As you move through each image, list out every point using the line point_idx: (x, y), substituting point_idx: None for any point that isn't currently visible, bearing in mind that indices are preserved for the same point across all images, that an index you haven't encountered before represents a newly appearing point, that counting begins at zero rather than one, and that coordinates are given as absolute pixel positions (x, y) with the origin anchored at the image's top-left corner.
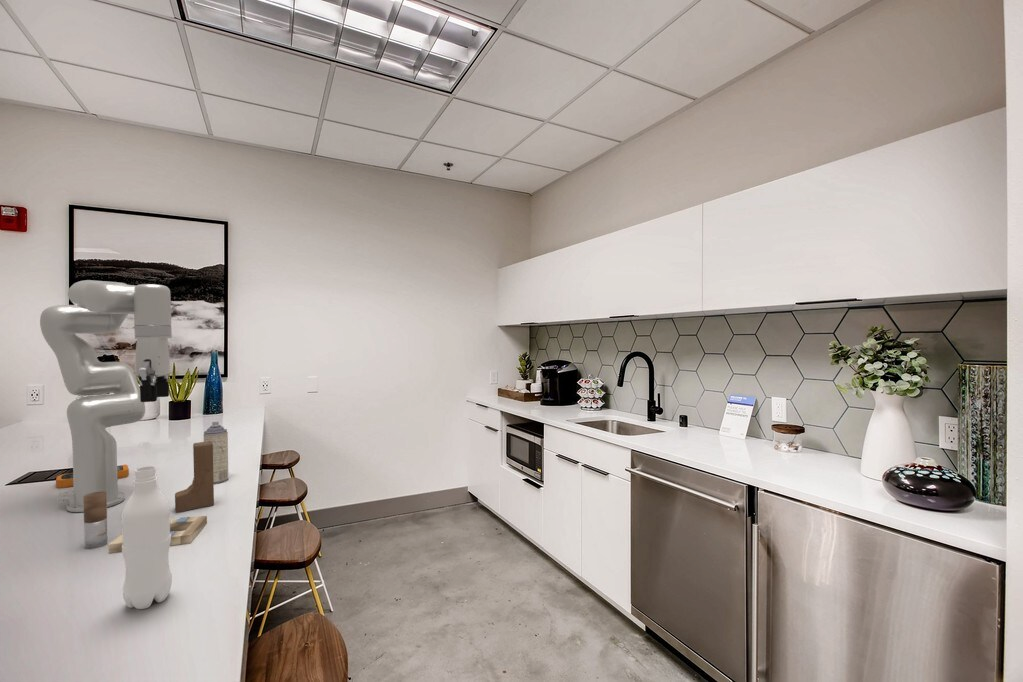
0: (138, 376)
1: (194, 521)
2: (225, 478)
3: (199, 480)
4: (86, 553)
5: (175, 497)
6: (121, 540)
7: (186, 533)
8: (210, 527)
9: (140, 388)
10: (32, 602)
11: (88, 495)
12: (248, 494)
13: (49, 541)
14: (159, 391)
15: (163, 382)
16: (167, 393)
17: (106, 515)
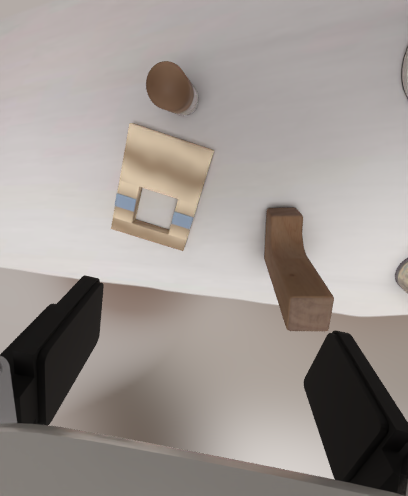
0: (42, 444)
1: (166, 235)
2: (401, 287)
3: (273, 262)
4: None
5: (273, 215)
6: (138, 140)
7: (119, 224)
8: (163, 249)
9: (30, 336)
10: (3, 50)
11: (165, 72)
12: None
13: (254, 8)
14: (330, 381)
15: (347, 471)
16: (307, 397)
17: (173, 112)
